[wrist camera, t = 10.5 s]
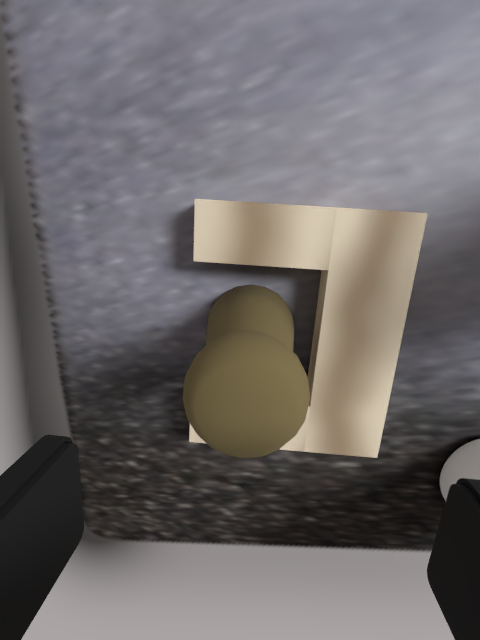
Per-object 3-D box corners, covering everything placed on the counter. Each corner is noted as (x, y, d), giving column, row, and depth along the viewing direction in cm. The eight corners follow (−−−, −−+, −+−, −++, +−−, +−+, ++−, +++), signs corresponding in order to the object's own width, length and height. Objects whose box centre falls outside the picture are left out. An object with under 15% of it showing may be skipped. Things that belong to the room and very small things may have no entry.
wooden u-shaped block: (411, 214, 20) (427, 213, 18) (367, 439, 24) (377, 457, 22) (200, 201, 20) (195, 198, 18) (194, 425, 25) (189, 441, 23)
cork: (241, 383, 24) (228, 508, 13) (189, 318, 23) (128, 397, 12) (311, 337, 22) (360, 434, 12) (260, 266, 21) (264, 302, 11)
